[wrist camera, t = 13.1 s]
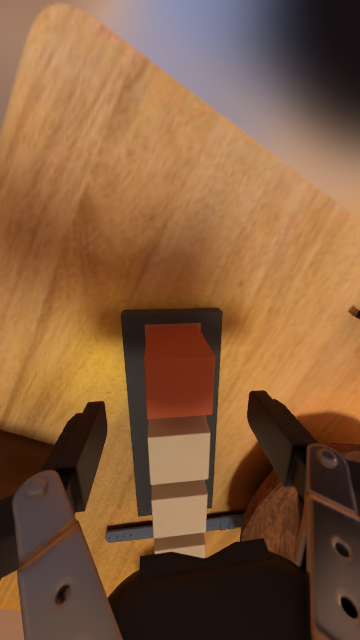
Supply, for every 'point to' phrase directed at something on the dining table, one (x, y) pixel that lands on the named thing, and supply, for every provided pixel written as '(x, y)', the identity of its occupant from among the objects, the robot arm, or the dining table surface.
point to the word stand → (19, 461)
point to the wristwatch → (147, 530)
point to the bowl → (280, 510)
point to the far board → (140, 394)
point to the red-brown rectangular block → (178, 373)
